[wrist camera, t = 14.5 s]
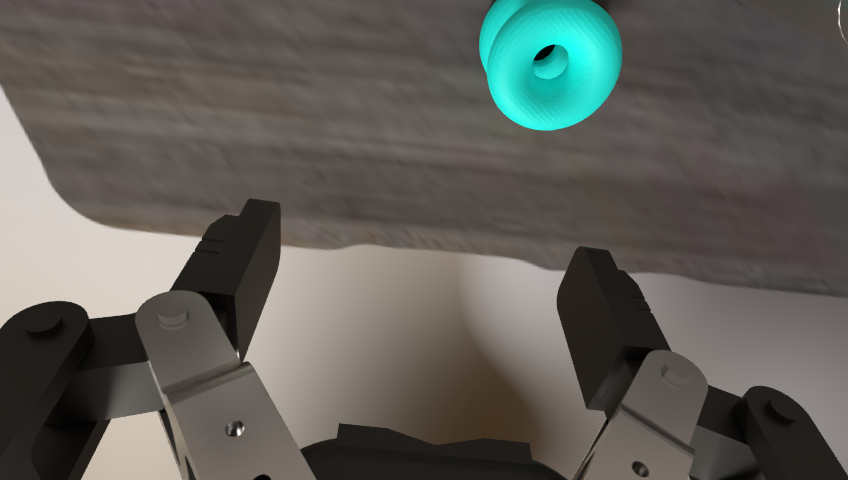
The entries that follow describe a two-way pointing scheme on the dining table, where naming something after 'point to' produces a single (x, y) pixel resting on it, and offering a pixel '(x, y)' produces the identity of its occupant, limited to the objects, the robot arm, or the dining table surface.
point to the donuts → (549, 60)
